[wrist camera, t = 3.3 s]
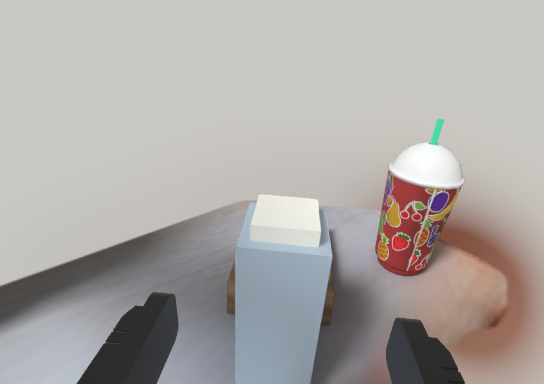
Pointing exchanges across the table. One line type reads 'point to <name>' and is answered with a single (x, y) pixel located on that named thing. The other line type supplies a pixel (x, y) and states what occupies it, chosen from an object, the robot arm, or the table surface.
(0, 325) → the table surface
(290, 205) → the carton
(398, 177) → the smoothie
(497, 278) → the table surface
